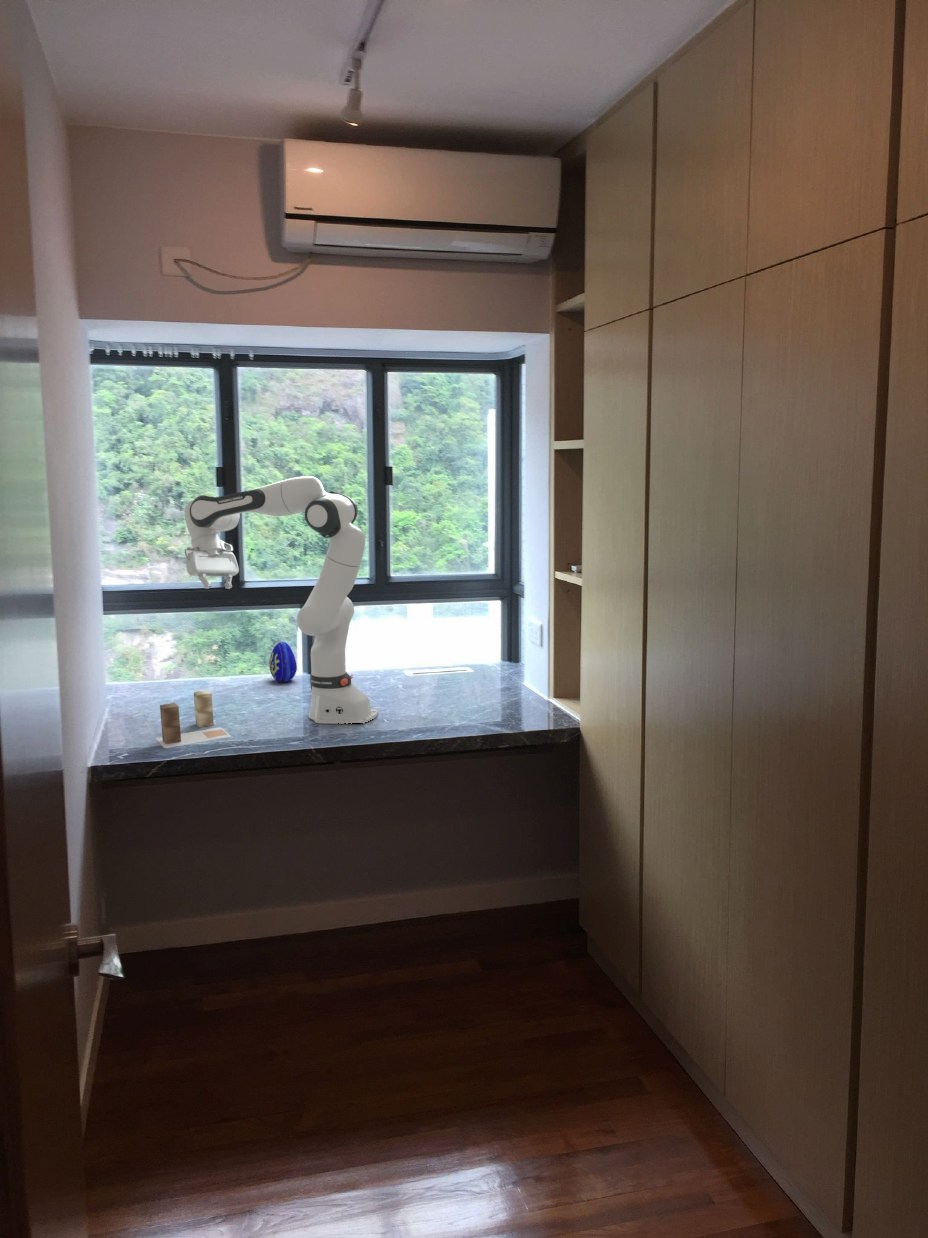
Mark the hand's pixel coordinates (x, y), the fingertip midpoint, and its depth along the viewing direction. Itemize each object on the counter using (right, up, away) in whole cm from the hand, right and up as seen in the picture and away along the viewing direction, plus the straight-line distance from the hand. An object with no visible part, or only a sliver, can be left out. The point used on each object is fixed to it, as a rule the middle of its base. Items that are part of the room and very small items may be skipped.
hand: (218, 587), depth 306 cm
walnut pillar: (-8, -47, -23) cm, 53 cm away
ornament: (+13, -33, +45) cm, 58 cm away
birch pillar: (-2, -44, -7) cm, 45 cm away
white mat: (-2, -47, -20) cm, 51 cm away
